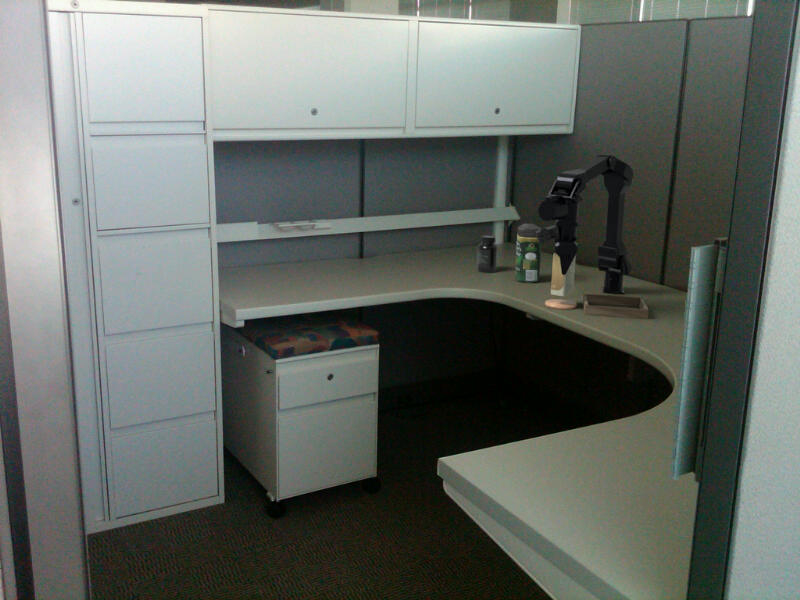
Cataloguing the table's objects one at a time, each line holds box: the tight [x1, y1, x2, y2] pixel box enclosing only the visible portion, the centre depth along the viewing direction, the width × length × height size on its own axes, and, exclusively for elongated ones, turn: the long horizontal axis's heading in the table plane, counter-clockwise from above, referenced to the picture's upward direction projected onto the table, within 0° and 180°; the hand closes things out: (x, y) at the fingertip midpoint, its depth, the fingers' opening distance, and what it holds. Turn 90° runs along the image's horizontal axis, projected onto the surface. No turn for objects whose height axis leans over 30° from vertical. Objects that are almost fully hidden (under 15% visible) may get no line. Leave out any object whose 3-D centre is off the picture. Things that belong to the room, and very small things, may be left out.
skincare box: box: [550, 252, 577, 297], centre depth 231 cm, size 6×4×12 cm
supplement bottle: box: [476, 235, 499, 274], centre depth 277 cm, size 7×7×12 cm
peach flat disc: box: [544, 298, 577, 311], centre depth 233 cm, size 9×9×1 cm
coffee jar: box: [514, 223, 542, 284], centre depth 263 cm, size 10×8×19 cm
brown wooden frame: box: [582, 293, 649, 320], centre depth 229 cm, size 15×17×2 cm
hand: (563, 271), depth 231 cm, fingers closed on skincare box, 7 cm apart
